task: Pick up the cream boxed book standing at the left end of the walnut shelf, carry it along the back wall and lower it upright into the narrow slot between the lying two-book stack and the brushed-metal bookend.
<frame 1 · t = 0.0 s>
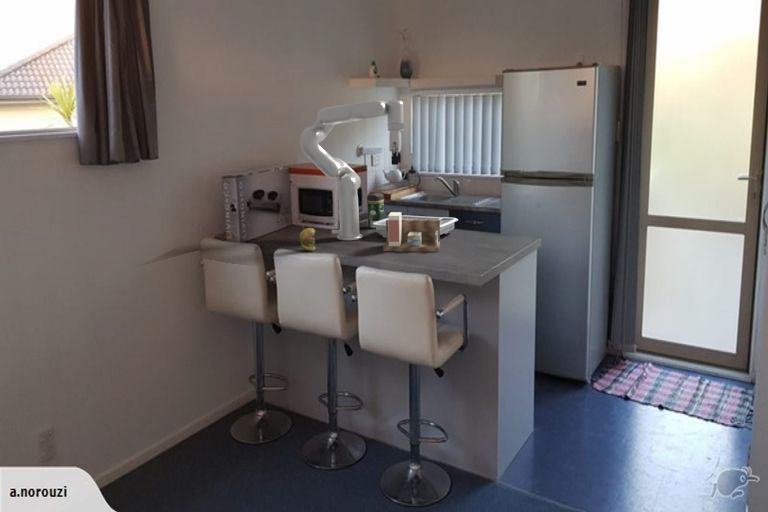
hand: (396, 163, 311), 37 cm above the table, tool pointing down, fingers open, 9 cm apart
coffee jar: (376, 227, 348), on the table
hamburger: (308, 251, 298), on the table
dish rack: (415, 236, 326), on the table
boxed book: (395, 243, 298), point 2 cm above the table, touching shelf
shelf: (411, 248, 298), on the table
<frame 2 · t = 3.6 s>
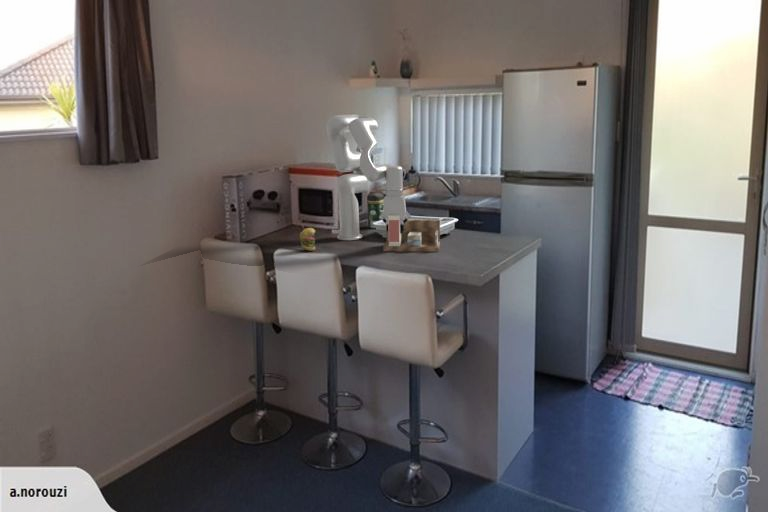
hand: (395, 232, 297), 7 cm above the table, tool pointing down, fingers closed on boxed book, 5 cm apart
boxed book: (395, 243, 298), point 2 cm above the table, touching gripper, shelf
everything else where it was.
when the fingers open (9 cm above the table, at t = 9.2 s): boxed book drops 1 cm, resting on shelf.
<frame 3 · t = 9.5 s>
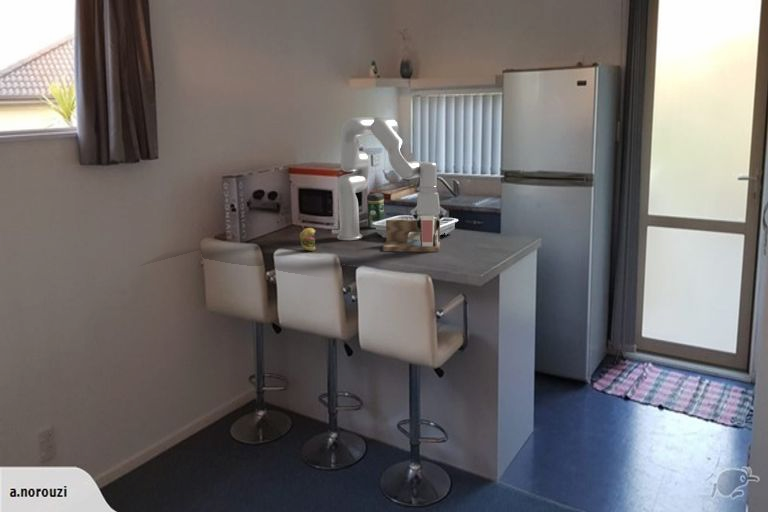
hand: (428, 228, 295), 9 cm above the table, tool pointing down, fingers open, 7 cm apart
boxed book: (428, 244, 296), point 2 cm above the table, touching shelf
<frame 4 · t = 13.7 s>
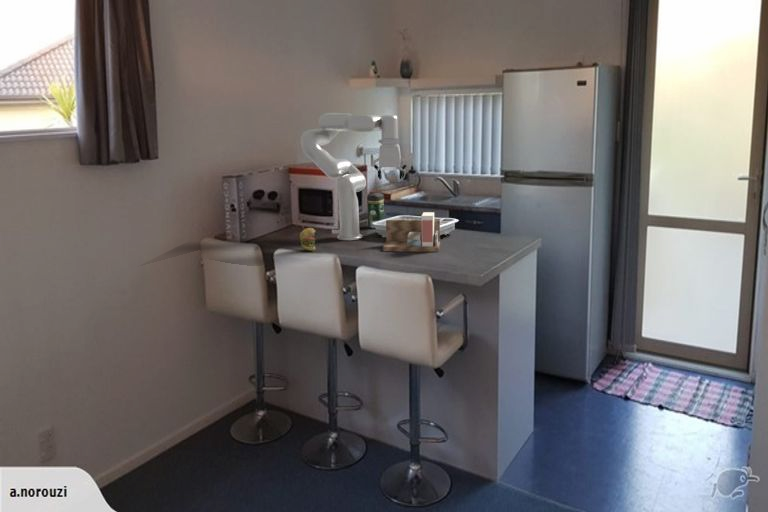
hand: (390, 179, 305), 30 cm above the table, tool pointing down, fingers open, 9 cm apart
at the end: boxed book 0.1 cm from the target spot, point 2.0 cm above the table; boxed book tilted 0°; the gripper is holding nothing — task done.
